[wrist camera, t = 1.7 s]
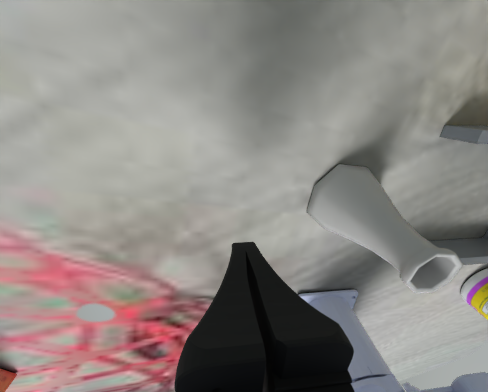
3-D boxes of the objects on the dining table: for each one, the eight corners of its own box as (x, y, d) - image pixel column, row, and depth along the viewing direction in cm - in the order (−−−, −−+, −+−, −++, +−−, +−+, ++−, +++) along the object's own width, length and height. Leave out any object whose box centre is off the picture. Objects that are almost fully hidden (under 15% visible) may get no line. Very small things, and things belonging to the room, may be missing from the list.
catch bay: (485, 244, 26) (516, 261, 23) (393, 249, 25) (414, 268, 22) (561, 126, 20) (614, 131, 17) (444, 125, 19) (482, 130, 16)
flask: (392, 180, 21) (524, 245, 12) (347, 236, 23) (428, 325, 14) (335, 150, 19) (443, 200, 10) (293, 214, 21) (348, 302, 12)
